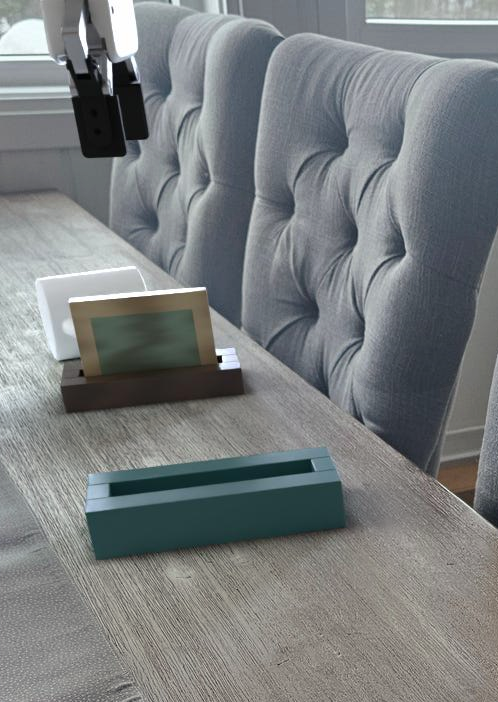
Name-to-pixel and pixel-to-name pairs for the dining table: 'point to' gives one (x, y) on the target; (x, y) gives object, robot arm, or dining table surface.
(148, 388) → the rack
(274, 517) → the holder
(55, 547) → the dining table surface
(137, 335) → the frame
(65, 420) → the dining table surface
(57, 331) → the white bread box
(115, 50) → the robot arm
